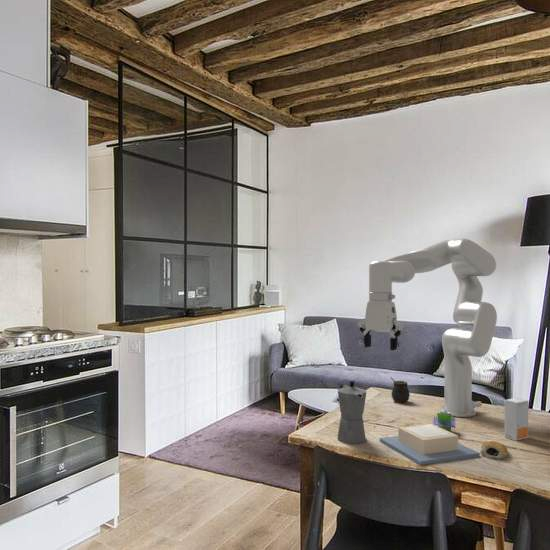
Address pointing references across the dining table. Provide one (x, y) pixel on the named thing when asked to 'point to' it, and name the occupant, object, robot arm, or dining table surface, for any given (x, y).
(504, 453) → the pastry
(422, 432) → the board
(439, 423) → the geometric puzzle
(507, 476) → the dining table surface
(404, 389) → the mate gourd
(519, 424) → the skincare box
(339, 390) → the coffeepot
